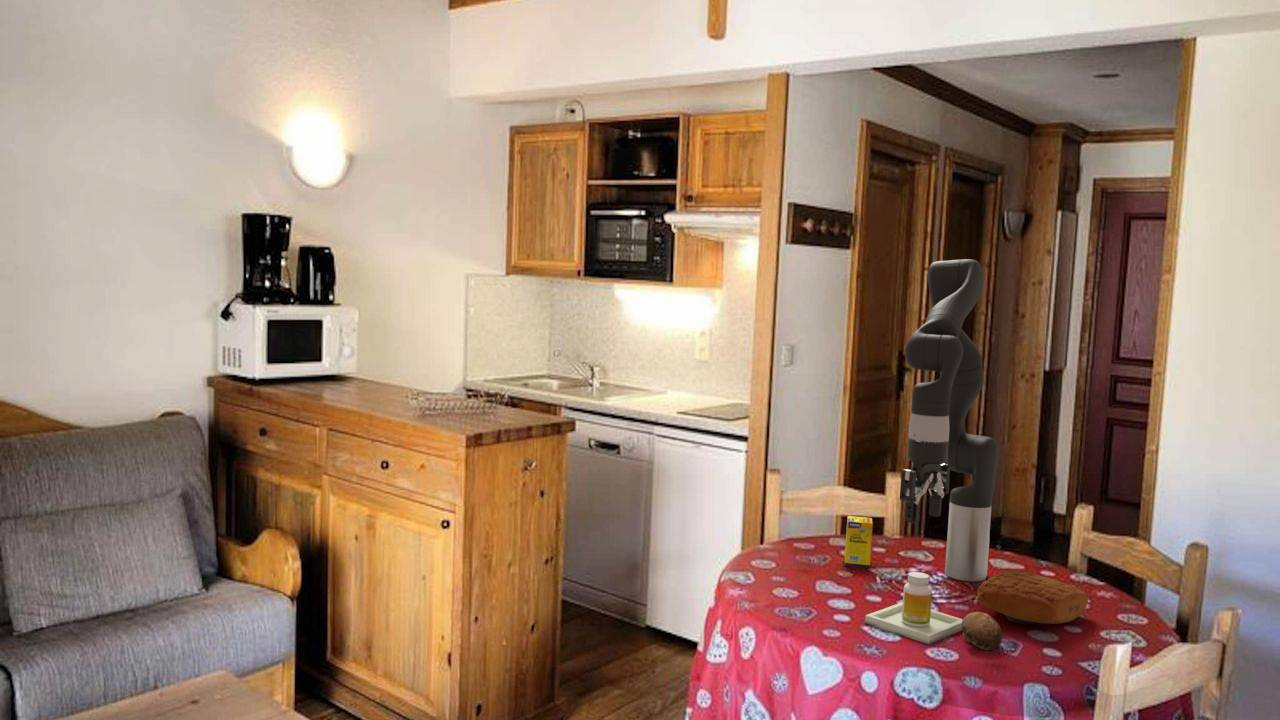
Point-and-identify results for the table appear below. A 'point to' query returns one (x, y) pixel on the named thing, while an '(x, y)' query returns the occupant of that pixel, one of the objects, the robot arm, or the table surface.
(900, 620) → the tray
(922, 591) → the supplement bottle
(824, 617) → the table surface
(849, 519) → the supplement box
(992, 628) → the mushroom
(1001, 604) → the clay tablet
